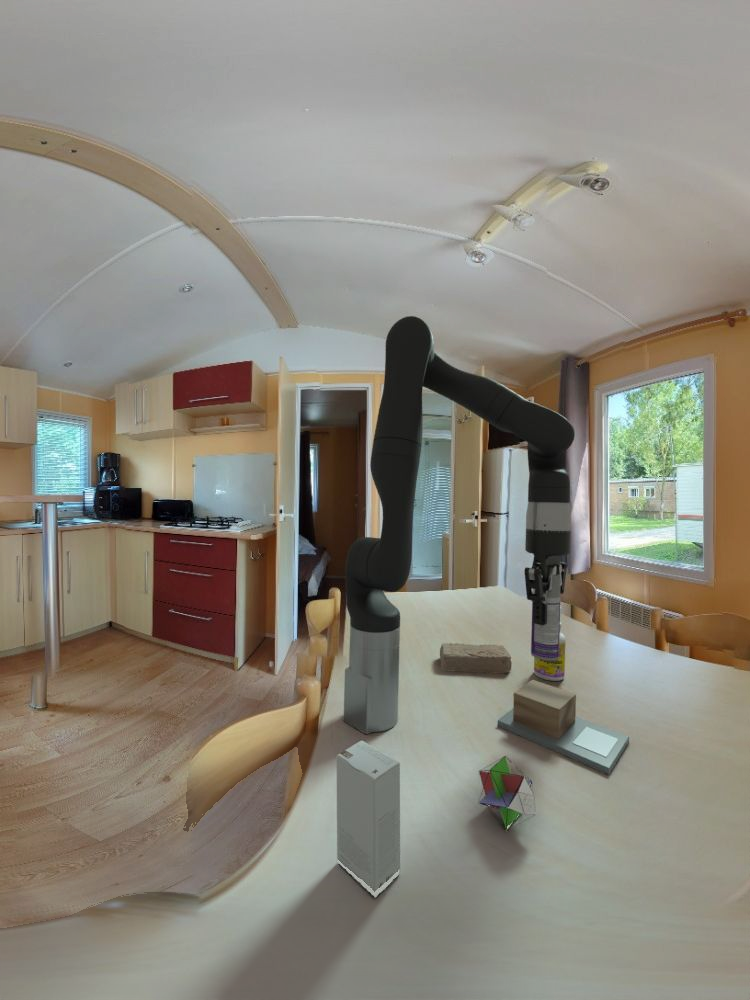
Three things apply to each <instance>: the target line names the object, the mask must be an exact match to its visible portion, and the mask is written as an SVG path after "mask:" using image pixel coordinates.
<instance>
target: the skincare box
mask: <svg viewBox="0 0 750 1000" xmlns="http://www.w3.org/2000/svg"><path fill="white" fill-rule="evenodd" d="M335 759H336V840H337V841H336V859H338V860H339V861H340V862H341V863H342V864H343V865H344V866H345V867H347V868H348V869H349V870H350V871H352V872H353V873H354V874H355V875H356V876H357V877H358V878H360V879H362V880H363V881H364V882H365V883H366V884H367V885H368V886H370V888H372V890H373V891H374V892H375V891H376V890H377V889H378V888H380V887H381V886H382V885H383V884H384V883H385V882H387V881H388V880H389V879H390V878H391V877H392V876H393V875H394V874H395V873H396V872H398V870H399V869H400V870H401V780H400V779H401V763H400V762H399V761H398V760H396V759H394V758H393V757H391V756H389V755H387V754H386V753H384V752H382V751H381V750H379V749H377V748H375V747H374V746H373V745H370V743H367V742H365V741H364V740H359V741H358V742H355V744H353V745H351V746H350V747H348V748H346V749H345V750H344V751H342V752H340V753H338V754H337V755H336V758H335Z"/></svg>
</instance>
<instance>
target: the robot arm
mask: <svg viewBox="0 0 750 1000" xmlns="http://www.w3.org/2000/svg"><path fill="white" fill-rule="evenodd" d="M434 344H435V340H434V336H433V333H432V331H431V328H430V326H429V325H428V324H427V322H425V321H424V320H423V319H422V318H420V317H417V316H415V315H411V316H410V315H408V316H405V317H402V318H400V319H398V320H397V321H396V322H395V323H394V324H393V325H392V326H391V327H390V329H389V331H388V333H387V335H386V339H385V357H384V358H385V363H384V379H383V382H384V383H383V387H382V388H383V389H382V390H383V391H382V394H381V399H380V404H379V408H378V413H377V419H376V425H375V428H374V435H373V441H372V448H371V454H370V464H369V465H370V473H371V476H372V480H373V484H374V486H375V489H376V491H377V493H378V496H379V500H380V502H381V507H382V509H381V510H382V522H381V523H382V524H381V525H382V527H381V533H380V538H379V537H369V536H368V537H367V536H363V537H360V538H358V539H356V540H355V541H354V542H352V544H351V545H350V548H349V550H348V553H347V554H346V555H347V556H346V560H345V596H346V598H345V601H346V609H347V612H348V615H349V618H350V619H349V620H350V621H349V651H348V652H349V655H348V656H349V658H348V659H349V661H348V664H349V665H348V667H346V668H345V669H344V683H343V686H344V687H343V689H344V690H343V691H344V692H343V696H344V697H343V721H344V722H346V723H347V724H349V725H350V726H352V727H354V728H355V729H357V730H359V731H360V732H362V733H363V734H365V735H369V734H370V733H374V732H377V733H379V732H383V731H387V730H390V729H391V728H394V726H395V725H396V724H397V723H398V720H399V719H398V717H399V681H400V680H399V679H400V677H399V675H400V641H401V638H400V636H401V633H400V632H401V613H400V611H399V609H398V607H396V605H394V604H393V603H392V602H391V601H390V600H389V598H388V597H387V596H386V595H385V592H388V593H395V592H398V591H401V589H402V588H403V587H404V586H405V585H406V583H407V581H408V579H409V575H410V573H411V569H412V568H411V567H412V560H413V533H414V511H415V510H414V509H415V500H416V499H415V498H416V492H417V491H416V490H417V481H418V473H419V468H420V461H421V455H422V454H421V453H422V445H423V427H424V426H423V422H424V420H423V417H424V415H423V388H425V389H427V390H430V391H433V392H434V393H436V394H439V395H440V396H442V397H444V398H447V399H449V400H451V401H452V402H454V403H455V404H458V405H460V406H461V407H463V408H465V409H467V410H468V411H469V412H472V413H473V414H475V416H478V418H481V419H482V420H483V421H485V422H487V423H489V424H490V425H492V426H493V427H495V428H496V429H498V430H500V431H502V432H505V433H511V434H513V435H515V436H517V437H518V438H519V439H522V440H523V441H525V442H526V443H527V447H526V448H527V463H528V473H529V475H528V477H529V478H528V485H527V488H528V489H527V509H526V512H525V513H526V514H525V543H524V545H525V546H524V547H525V551H526V553H528V554H532V555H533V560H532V565H531V567H527V566H526V567H525V568H524V570H523V571H524V579H525V580H524V581H525V592H526V599H527V600H528V601H531V602H533V622H534V623H535V624H539V625H545V624H546V623H547V602H548V594H549V592H551V591H552V587H553V576H555V575H556V574H560V598H561V596H562V595H564V594H565V593H564V592H565V585H566V576H567V569H568V563H567V562H562V561H561V560H562V559H561V557H565V556H568V555H570V553H571V533H572V531H571V528H572V527H571V525H572V515H571V514H572V513H571V505H570V503H571V502H570V501H571V497H570V496H571V481H570V480H571V479H570V476H569V473H568V472H567V450H568V449H569V448H571V446H572V444H573V442H574V440H575V436H576V435H575V429H574V426H573V424H572V423H571V422H570V421H569V419H567V418H566V417H565V416H563V415H562V414H560V413H558V412H557V411H554V410H553V409H550V408H547V406H543V405H542V404H541V405H540V404H538V403H537V402H533V401H530V400H528V399H526V398H525V397H523V396H521V395H520V394H518V393H517V392H515V391H513V390H512V389H510V388H508V387H507V386H506V385H504V384H502V383H500V382H498V381H496V380H494V379H492V378H489V377H486V376H483V375H479V374H475V373H472V372H467V371H465V370H461V369H459V368H457V367H455V366H453V365H451V364H450V363H448V362H446V361H445V360H444V359H443V358H442V357H441V356H439V355H438V354H437V353H436V352H435V345H434ZM542 582H543V583H547V582H548V583H547V585H545V586H544V585H542ZM543 591H544V592H543ZM537 593H538V594H537Z"/></svg>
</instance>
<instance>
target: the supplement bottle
mask: <svg viewBox="0 0 750 1000" xmlns="http://www.w3.org/2000/svg"><path fill="white" fill-rule="evenodd" d="M561 630H562V622H561V621H560V633H559V659H558V660H555V661H547V660H541V659H538V658H535V657H534V656H533V657H534V661H533V672H534V674H535V676H537V677H538V678H540V679H542V680H546V681H552V682H559V681H563V680H564V678H565V670H566V669H565V668H566V667H565V666H566V640H567V639H566V636H565V635H564V633H562V632H561Z"/></svg>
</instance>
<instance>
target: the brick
mask: <svg viewBox="0 0 750 1000" xmlns="http://www.w3.org/2000/svg"><path fill="white" fill-rule="evenodd" d="M439 661H440V668H441V670H442V671H450V672H465V673H466V672H468V673H469V672H470V673H473V672H474V673H485V674H486V673H487V674H507V673H510V672H511V670H512V664H513V663H512V662H513V661H512V656H511V654H510V652H509V651H508V649H506V648H505V646H504V645H501V644H491V643H490V644H486V643H485V644H467V643H457V642H455V643H451V642H450V643H446V642H444V643H443V642H442V643H441V646H440V649H439Z"/></svg>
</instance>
